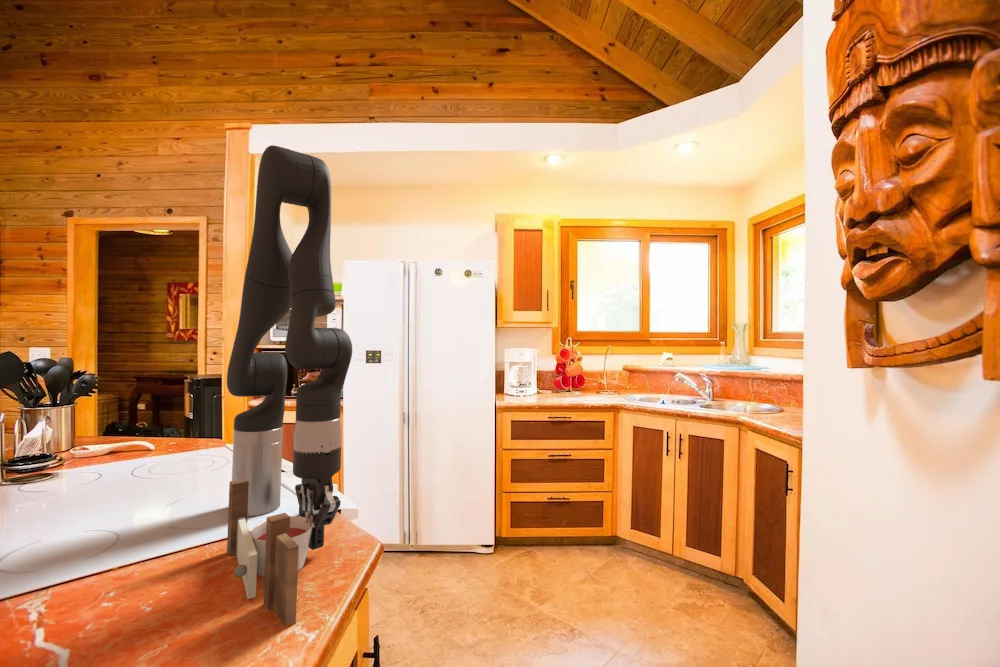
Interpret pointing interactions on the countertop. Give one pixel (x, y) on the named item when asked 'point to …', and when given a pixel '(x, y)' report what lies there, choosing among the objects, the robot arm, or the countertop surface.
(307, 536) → the candle
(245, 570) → the door
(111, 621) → the countertop surface
